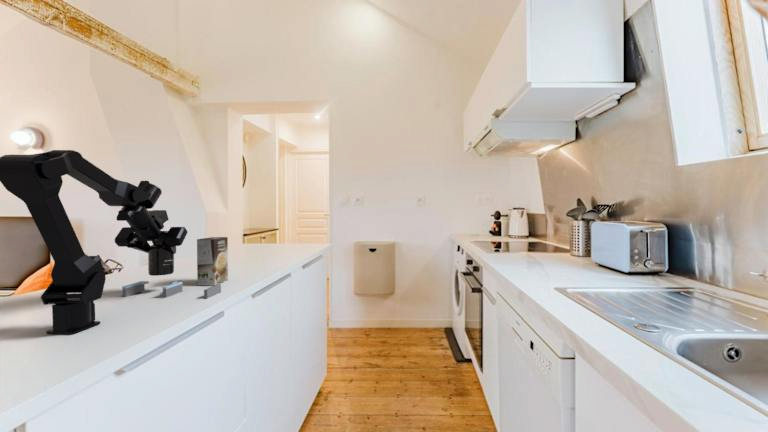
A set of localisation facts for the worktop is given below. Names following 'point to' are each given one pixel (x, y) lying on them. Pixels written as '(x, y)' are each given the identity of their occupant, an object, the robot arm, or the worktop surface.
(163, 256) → the supplement bottle
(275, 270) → the worktop surface
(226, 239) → the coffee box
